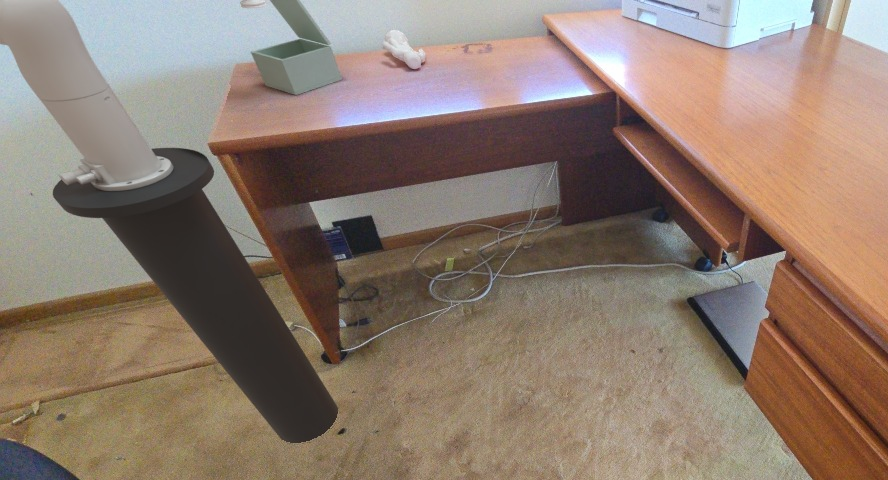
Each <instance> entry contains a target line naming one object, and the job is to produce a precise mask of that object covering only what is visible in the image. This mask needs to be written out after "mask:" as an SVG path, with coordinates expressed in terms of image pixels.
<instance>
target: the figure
mask: <svg viewBox="0 0 888 480" xmlns="http://www.w3.org/2000/svg"><path fill="white" fill-rule="evenodd" d="M381 48H382V49H383V50H384V51H386V52H388V53H390V54H391V55H392V56H393V57H394V58H396V59H398V60H400V61H401V62H404V63H405V64H406V65H407V66H408V68H410V69H412V70H417V69H420V67H421V64H422V63H425V62H426V52H425V50H424V49H423V48H418V51H416V50H414V49H413V47H411V46H410V43H409V39H408V38H407V36H406V34H405V33H403V32H402V31H400V30H398V29H391V30H389V31H387V32H386V34H385V36H384V40H383V41H382V43H381Z"/></svg>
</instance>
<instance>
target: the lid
mask: <svg viewBox="0 0 888 480" xmlns="http://www.w3.org/2000/svg"><path fill="white" fill-rule="evenodd" d="M269 2H270V3H271V4H272V5H273V6H274V8H275V9H276V10H277V12H278V13H279V14H280V16H281V17H282V18H283V20H284V21H285V22H286V24H288V26H289V27H290V28H291V30H292V31H293V32H294V33H295V35H296V36H297V38H298V39H303V40H307V41H311V42H315V43H319V44H322V45H326V46H330V45H332V43H331V41H330V39H329V38H328V37H327V36H326V35H325V33H324V32H323V30H322V29H321V28H320V26H319V25H318V23H317V22H316V21H315V19H314V17H312V15H311V14H310V13H309V11H308V9H307V8H306V7H305V5H304V4H303V2H302V1H301V0H269Z"/></svg>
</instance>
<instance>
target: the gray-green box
mask: <svg viewBox="0 0 888 480" xmlns="http://www.w3.org/2000/svg"><path fill="white" fill-rule="evenodd" d="M250 55H251V57H252V58H253V61H254V64H255V65H256V67H257V70H258V71H259V74H260V77H261V78H262V81H263V83H264V85H265V87H269V88H272V89H275V90H278V91H282V92H285V93H287V94H292V95H294V96H297V95H300V94H301V95H302V94H304V93H306V92H310V91H314V90H316V89H318V88H321V87H325V86H327V85H329V84H330V85H331V84H334V83H336V82H339V81H342V80H343V77H342V74H341V71H340V69H339V66H338V63H337V60H336V57H335V54H334V51H333V48H332V46H330V45H326V44H322V43H318V42H314V41H310V40H306V39H302V38H298V39H294V40H290V41H286V42H283V43H279V44H278V43H277V44H274V45H271V46H267V47H264V48H259V49H256V50H251V51H250Z"/></svg>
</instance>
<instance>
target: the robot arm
mask: <svg viewBox="0 0 888 480" xmlns="http://www.w3.org/2000/svg"><path fill="white" fill-rule="evenodd" d="M0 45H3V46H6V47H8V48H9V49H10V51H11V53H12V55H13V57H14V60H15V63H16V66H17V68H18V69H19V72H20V74H21V76H22V77H23V79H24V80H25V82H26V83H27V85H28V87H29V88H30V89H31V91H32V92H33V93H34V94H35V95H36V97H37V98H38V99H39V101H40V102H41V104H43V106H44V107H45V108H46V110H47V111H48V112H49V114H50V115H51V116H52V117H53V119H54V120H55V121H56V123H57V124H58V125H59V127H60V128H61V129H62V131H63V132H64V134H65V135H66V136H67V137H68V138H69V140H70V141H71V142H72V144H73V145H74V146H75V148H76V149H77V150H78V152H79V153H80V154H81V155H82V156H83V158H80V159H79V162H81V165H78V166H77V168H76V169H74V170H69V171H66V172H64V173H60V174H58V177H59V178H60V180H61V179H62V181H63V182H64V183H66V184H67V185H70V184H73V183H75V182H79V183H80V184H82V185H83V184H85V183H88V182H91V183H92V185H93V186H94V187H95V188H97V189H99V190H104V191H126V190H132V189H137V188H141V187H145V186H148V185H151V184H154V183H156V182H158V181H160V180H162V179H164V178H166V177H167V176H168V175H170V174H171V172H172V171H173V168H174V167H173V165H172V163H171V162H170V160H168V159H167V158H164V157H160V156H156V155H155V154H154V152H153V151H152V149H153V148H151V146H150V145H149V143H148V142H147V140H146V139H145V137H144V135H143V134H142V133H141V131H140V130H139V128H138V126H137V125H136V123H135V122H134V121H133V119H132V118H131V116H130V115H129V113H128V111H127V110H126V108H125V107H124V105H123V104H122V103H121V100H119V99H120V98H118V96H117V95H116V93H115V92H114V89H112V87H111V85H110V84H109V83H108V81H107V79H106V77H105V76H103V74H102V72H101V70H100V69H99V67H98V65H97V64H96V63H95V61H94V59H93V58H92V55H91V54H90V52H89V50H88V49H87V47H86V45H85V42H84V40H83V37H82V35H81V33H80V31H79V28H78V26H77V24H76V22H75V20H74V18H73V16H72V15H71V14H70V12H69V10H68V9H67V8H66V7H65V6H64V5H63V3H61V1H60V0H0Z"/></svg>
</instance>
